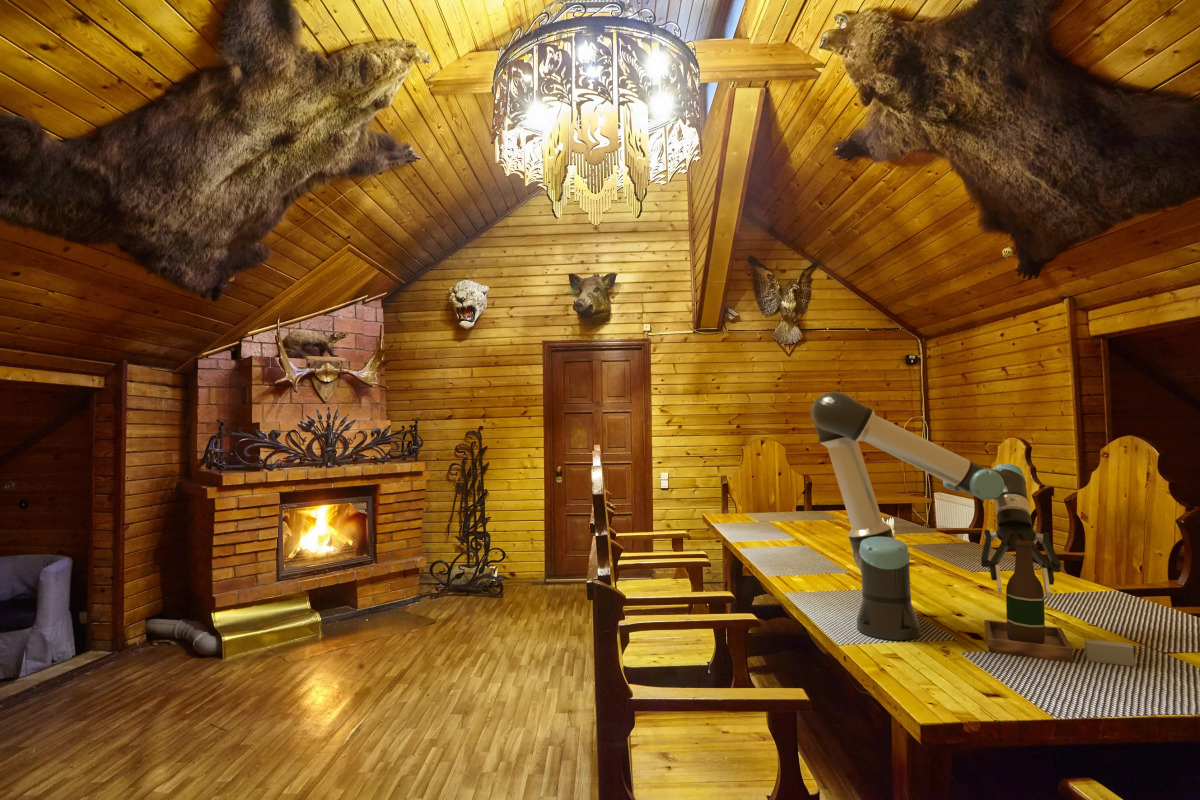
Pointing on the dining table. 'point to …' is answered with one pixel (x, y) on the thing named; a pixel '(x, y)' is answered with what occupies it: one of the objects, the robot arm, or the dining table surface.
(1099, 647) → the block
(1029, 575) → the beer bottle
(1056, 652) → the tray
